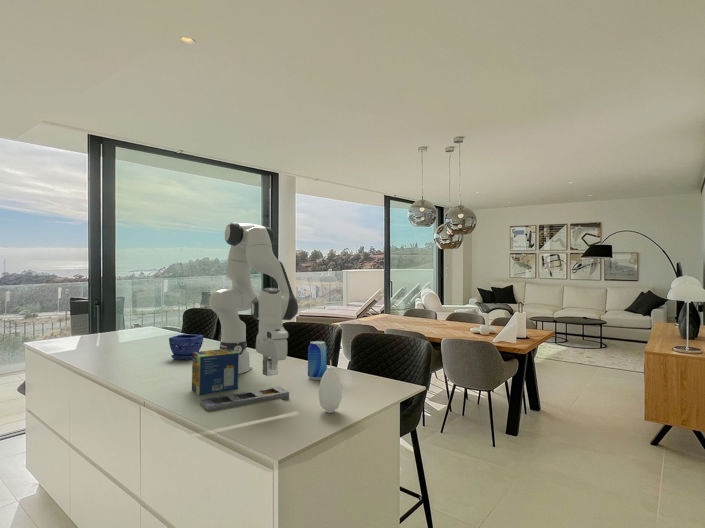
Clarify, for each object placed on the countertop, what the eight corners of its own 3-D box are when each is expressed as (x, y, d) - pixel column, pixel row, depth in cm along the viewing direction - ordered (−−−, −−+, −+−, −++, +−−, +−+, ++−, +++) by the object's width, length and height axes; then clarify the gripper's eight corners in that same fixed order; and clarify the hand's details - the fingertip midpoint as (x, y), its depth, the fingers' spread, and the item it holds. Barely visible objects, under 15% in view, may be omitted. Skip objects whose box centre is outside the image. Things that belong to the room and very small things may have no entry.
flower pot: (181, 355, 228) (181, 333, 228) (203, 356, 226) (204, 334, 226) (167, 360, 215) (168, 337, 215) (191, 361, 213) (191, 338, 213)
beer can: (303, 377, 183) (304, 342, 184) (317, 374, 189) (318, 339, 190) (316, 381, 178) (317, 344, 178) (330, 378, 184) (330, 342, 184)
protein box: (191, 391, 161) (191, 351, 162) (229, 385, 170) (230, 347, 171) (198, 398, 153) (199, 356, 153) (238, 391, 162) (239, 352, 162)
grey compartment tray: (200, 406, 143) (200, 399, 143) (278, 392, 161) (278, 386, 161) (207, 414, 136) (208, 406, 136) (289, 398, 154) (289, 392, 154)
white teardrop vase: (314, 414, 138) (315, 360, 138) (324, 407, 145) (325, 356, 145) (336, 417, 135) (336, 362, 135) (344, 410, 142) (345, 358, 143)
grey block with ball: (262, 373, 154) (262, 358, 154) (272, 372, 157) (273, 357, 157) (267, 376, 151) (267, 360, 151) (277, 374, 153) (277, 359, 153)
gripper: (251, 328, 161) (251, 364, 160) (274, 335, 144) (274, 374, 144) (266, 327, 164) (266, 362, 164) (290, 333, 148) (290, 372, 148)
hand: (270, 368), depth 154 cm, fingers closed on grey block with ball, 4 cm apart
